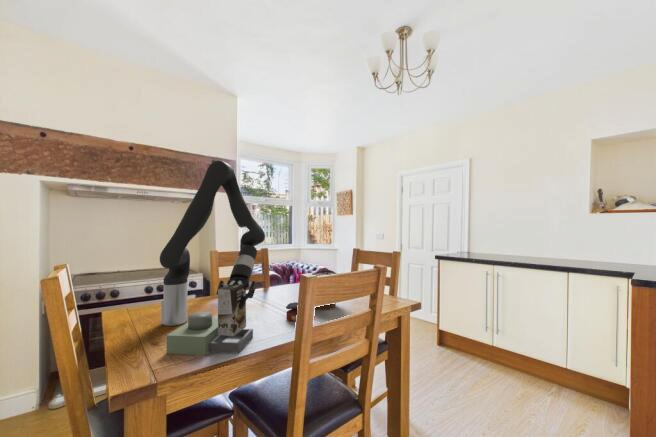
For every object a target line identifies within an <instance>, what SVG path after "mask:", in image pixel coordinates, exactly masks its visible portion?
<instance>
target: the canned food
mask: <svg viewBox="0 0 656 437" xmlns="http://www.w3.org/2000/svg"><path fill="white" fill-rule="evenodd" d="M298 303H299V302H295V301H294V302H290V303H288V304H287V305H286V306H285V309H286V310H287V311H286V313H285V314H286V320H287V321H288V322H292V323H297V322H296V315H297V305H298Z"/></svg>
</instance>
